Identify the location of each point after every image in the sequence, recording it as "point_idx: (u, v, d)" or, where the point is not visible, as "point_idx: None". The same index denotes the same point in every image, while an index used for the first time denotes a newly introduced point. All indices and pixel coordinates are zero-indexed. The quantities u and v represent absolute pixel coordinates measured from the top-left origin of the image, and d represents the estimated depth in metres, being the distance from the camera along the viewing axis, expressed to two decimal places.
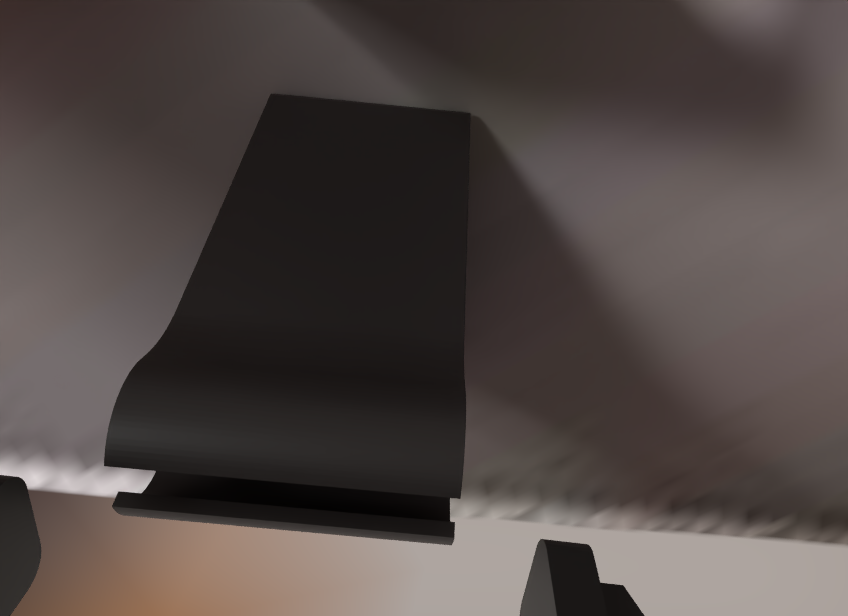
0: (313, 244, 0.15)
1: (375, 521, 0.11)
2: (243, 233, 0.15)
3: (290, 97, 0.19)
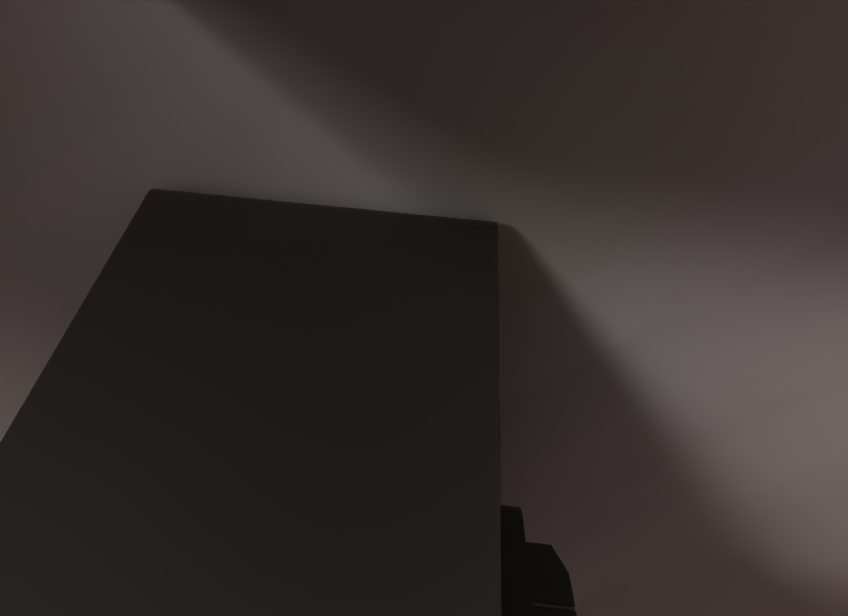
0: (160, 585, 0.07)
1: None
2: (8, 556, 0.07)
3: (182, 197, 0.11)
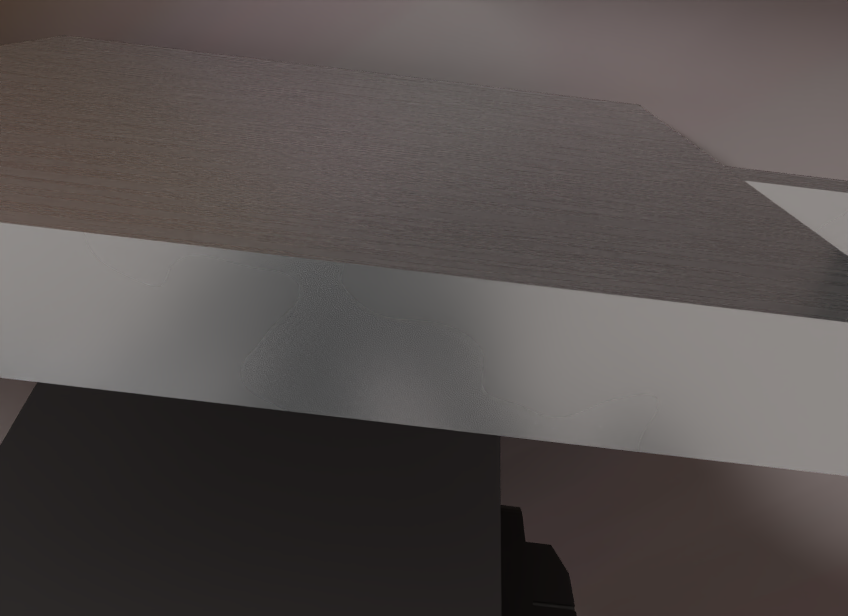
0: (161, 585, 0.07)
1: None
2: (10, 555, 0.07)
3: None
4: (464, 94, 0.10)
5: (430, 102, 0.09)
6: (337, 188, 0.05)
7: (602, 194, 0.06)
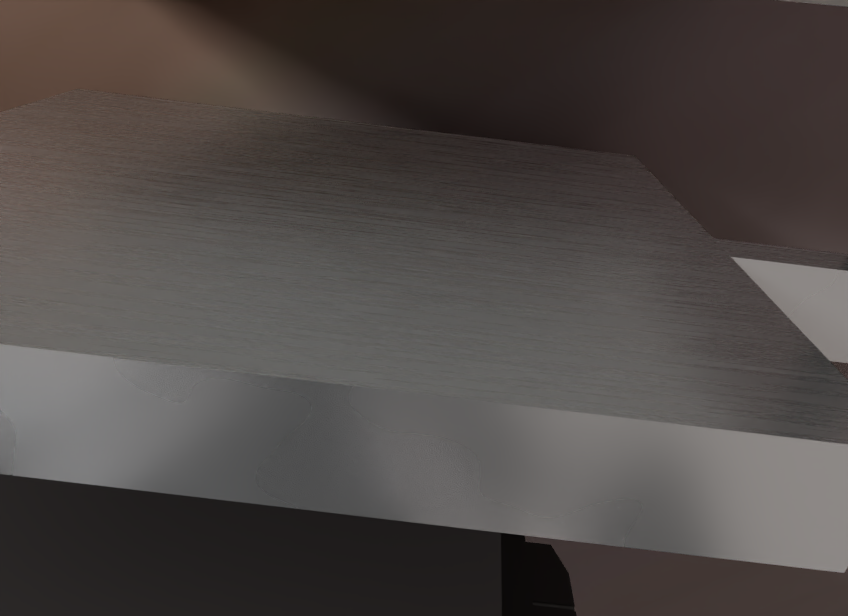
0: (163, 581, 0.07)
1: None
2: (12, 552, 0.07)
3: None
4: (465, 151, 0.10)
5: (432, 164, 0.10)
6: (343, 288, 0.06)
7: (593, 282, 0.06)
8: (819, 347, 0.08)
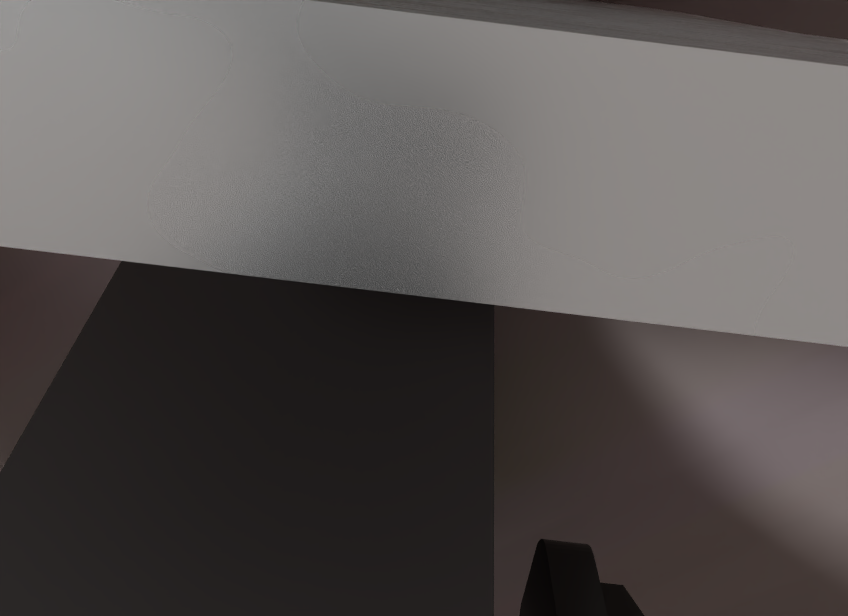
0: (193, 514, 0.07)
1: None
2: (58, 488, 0.08)
3: None
4: None
5: None
6: None
7: (668, 22, 0.04)
8: None
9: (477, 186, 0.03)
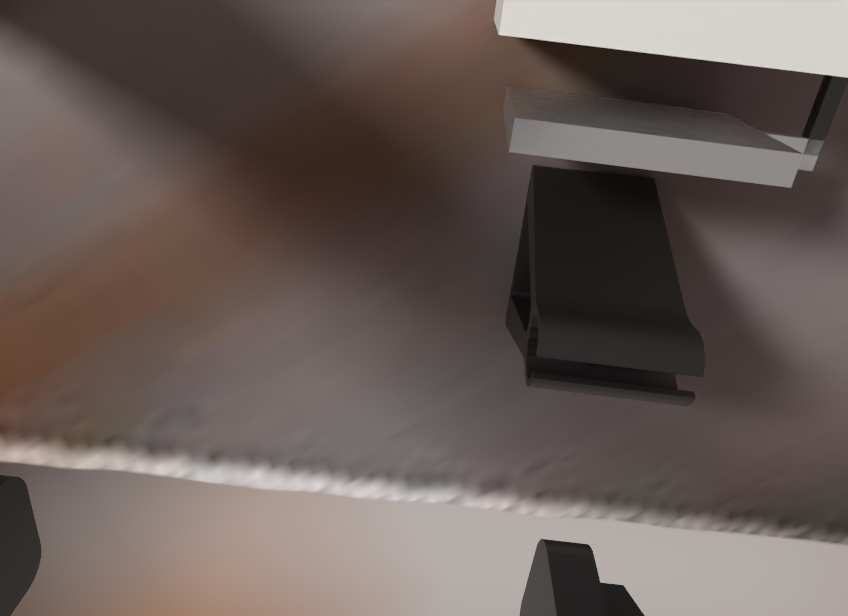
0: (591, 256, 0.27)
1: (656, 389, 0.23)
2: (552, 250, 0.27)
3: (545, 168, 0.31)
4: (664, 108, 0.28)
5: (658, 111, 0.27)
6: (671, 130, 0.23)
7: (729, 133, 0.24)
8: None
9: (707, 161, 0.22)
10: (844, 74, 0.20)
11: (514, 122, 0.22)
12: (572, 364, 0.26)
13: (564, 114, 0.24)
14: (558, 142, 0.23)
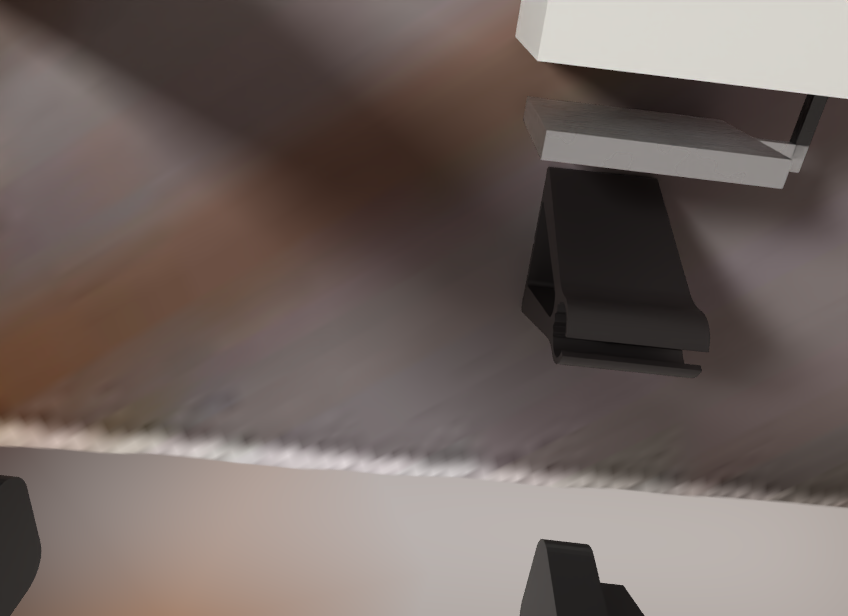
0: (606, 249, 0.31)
1: (668, 364, 0.27)
2: (571, 243, 0.31)
3: (560, 169, 0.35)
4: (668, 116, 0.32)
5: (663, 119, 0.31)
6: (679, 139, 0.27)
7: (728, 141, 0.28)
8: None
9: (711, 166, 0.26)
10: (828, 94, 0.24)
11: (546, 134, 0.26)
12: (593, 344, 0.29)
13: (586, 125, 0.27)
14: (584, 150, 0.26)
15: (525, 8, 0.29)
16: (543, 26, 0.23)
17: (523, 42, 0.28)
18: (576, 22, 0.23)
